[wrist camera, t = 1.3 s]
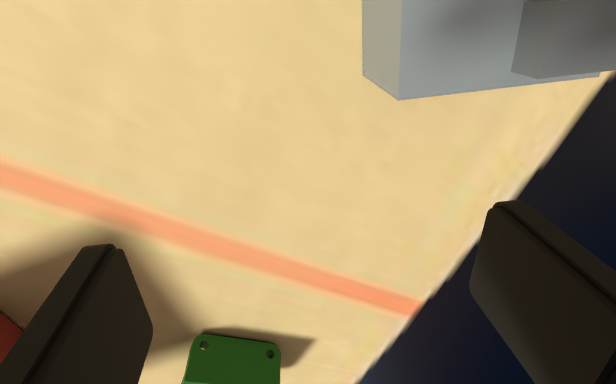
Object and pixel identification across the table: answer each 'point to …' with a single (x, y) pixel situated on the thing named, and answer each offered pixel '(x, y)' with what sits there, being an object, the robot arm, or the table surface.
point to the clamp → (232, 361)
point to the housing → (484, 43)
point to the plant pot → (7, 336)
